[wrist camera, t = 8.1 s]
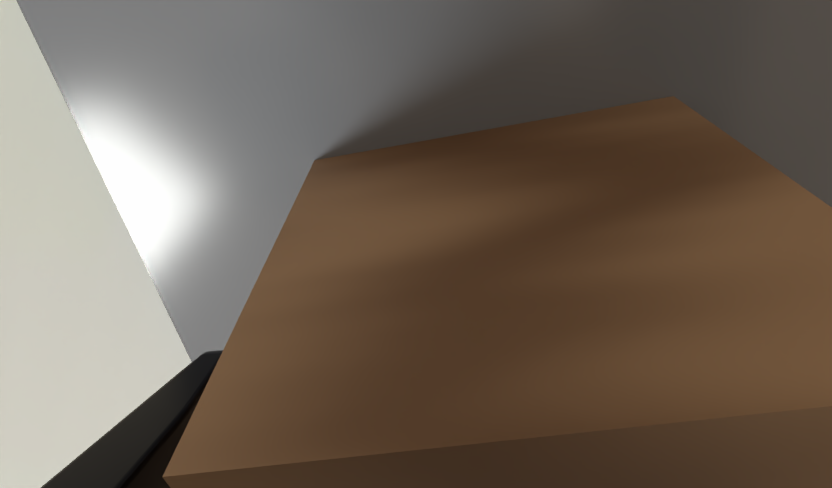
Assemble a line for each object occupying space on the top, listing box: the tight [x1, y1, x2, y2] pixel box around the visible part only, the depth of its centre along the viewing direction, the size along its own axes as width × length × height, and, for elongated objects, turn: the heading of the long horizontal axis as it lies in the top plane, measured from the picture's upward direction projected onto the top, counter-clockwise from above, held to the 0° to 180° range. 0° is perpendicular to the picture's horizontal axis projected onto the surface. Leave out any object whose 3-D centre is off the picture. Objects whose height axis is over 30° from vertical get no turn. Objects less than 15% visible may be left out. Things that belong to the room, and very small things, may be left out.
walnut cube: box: [162, 96, 832, 488], centre depth 8 cm, size 6×6×6 cm
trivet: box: [17, 0, 832, 362], centre depth 10 cm, size 14×14×1 cm
